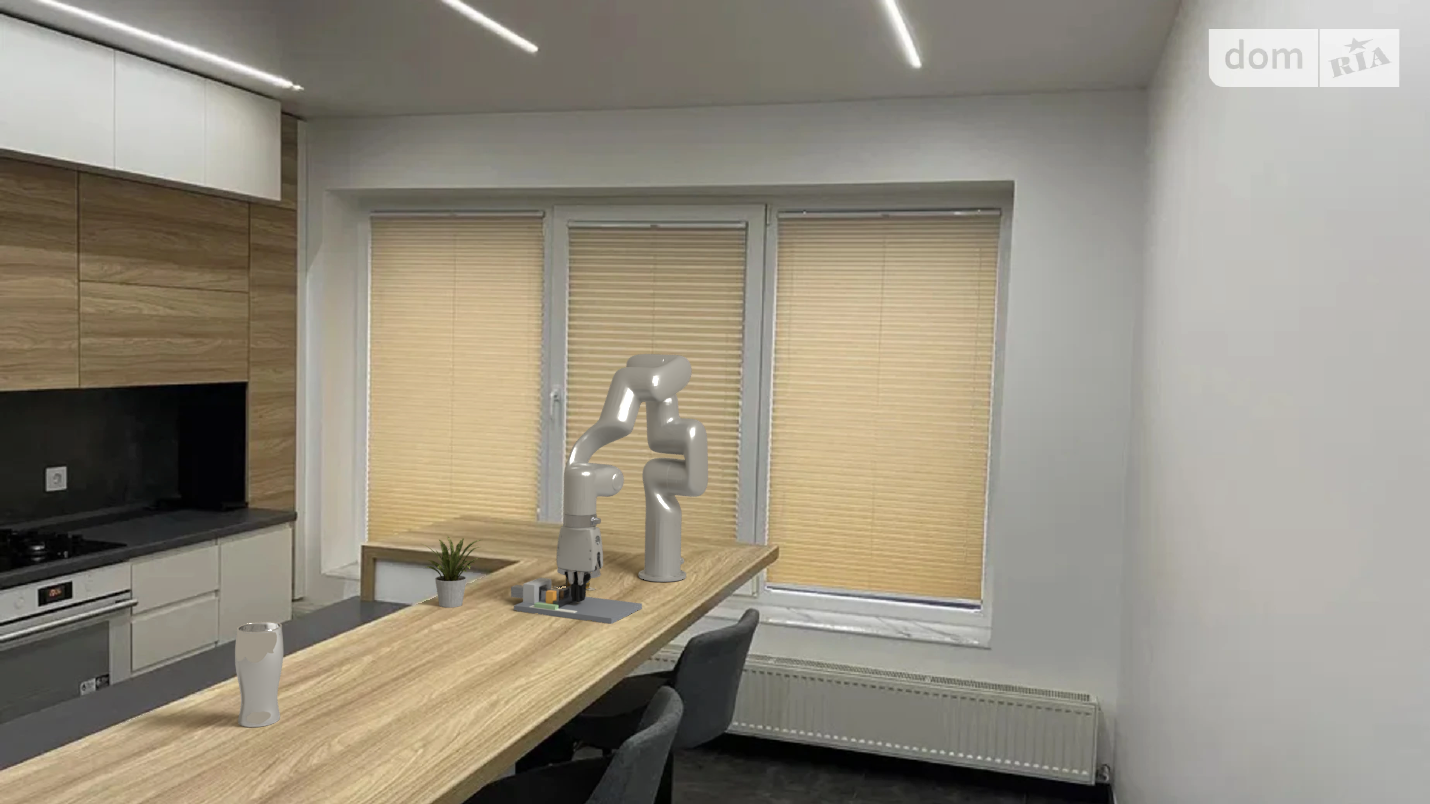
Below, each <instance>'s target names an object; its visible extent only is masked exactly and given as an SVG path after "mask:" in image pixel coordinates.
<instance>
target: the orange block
mask: <svg viewBox="0 0 1430 804" xmlns="http://www.w3.org/2000/svg"><path fill="white" fill-rule="evenodd" d="M556 593H557V591H554V590H548V591H546V603H548V604H553V601H554V600H556Z"/></svg>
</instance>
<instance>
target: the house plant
mask: <svg viewBox="0 0 1430 804" xmlns="http://www.w3.org/2000/svg"><path fill="white" fill-rule="evenodd" d="M446 539H447V540H448V544H449V547H450V548H448V546H447V545H446V544H445V543H444V541H443V540H442V539H438V542H439V544H440V545H439V546H440V548H441V554H442V556H441V555H440V553H439V552H438V551H437V550H433V549H432V548H430V547H429V546H427V545H425V544H422V543H421V545H422V546H425V547H426V548H428V549H430V550H431V552H432V553H434V555H435V556H436V557H437V559H438V560H439V561H440V564H439V563H438V562H436V561H434V560H432V559H428V561H429V562H431V564H432V565H433V566H431V565H427V566H426V568H429V569H430V570H433V571H436V572H437V573H438V575H439V576H437V577H435V579H434V580H435V586H436V592H437V593H436V594H437V599H438V605H439V607H441V608H457V607H461V606H463V603H464V596H465V591H466V584H467V576H465V575H462V574H463V572H465V573H468V572H467V568H468V569H469V570H470V569H471V565H470V564H472V563H473V564H474V565H475V564H476V563H475V562H474V561H476V560H480V559H481V557H479V558H474V559H472V560H466V559H467V557H468V556H469V555H470V554H471V553H472V552H473V551H474V550H476V549H479V548H481V546H475V547H474V548H473V546H474V544H475V543H477V542H480V541H482V539H477V540H474V541H472V542H470V543H469V544H468V545H467V546H466V547H465V548H464V549H463V551H462V548H463V547H464V546H463V545H464V540H465V538H464V537H462V538H461V539H460V540H459V542H458V543H457V544H456V547H454V543H453V541H452V539H451V537H449V535H446ZM471 547H472V549H471V550H469V548H471ZM449 550H450V553H449ZM467 550H469V551H468V553H467ZM461 552H462V553H461ZM466 553H467V554H466ZM465 554H466V556H465V557H464V559H463V560H462V558H463V556H464V555H465ZM461 560H462V562H460V561H461ZM459 563H460V564H459ZM466 563H467V564H466ZM465 564H466V565H465ZM434 566H435V567H436V568H435V567H434ZM441 573H442V574H441Z"/></svg>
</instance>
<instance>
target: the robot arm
mask: <svg viewBox="0 0 1430 804" xmlns="http://www.w3.org/2000/svg"><path fill="white" fill-rule="evenodd" d="M625 366H626V367H621V368H619V369H618V370H617V371H615V373H614V374H613V376H612V379H611V382H610V386H609V388H608V391H607V393H606V397H605V400H604V403H603V407H602V408H601V409H602V410H601V412H600V416H599V419H597V422H595V423H594V424H593V425H591V426H590V427H589V428H588V429H587V430H586V431H584V432H583V433H582V434H581V435H580V437H578V439H577V440H576V441H575V443H573V445H572V448H571V450H570V452H569V455H568V458H567V461H566V463H565V467H564V470H563V471H564V472H563V499H562V500H563V502H562V506H563V507H562V508H563V509H562V510H563V511H562V526H560V528H559V532H558V539H557V545H556V546H557V548H556V566H557V570H556V573H558V574H560V575H563V576H565V578H566V577H567V579H568V580H569V583H570V584H571V597H572V602H575V601H576V602H581V601H583V600H584V599H585V597H587V591H586V583H588V581H589V580H590V581H591V579H595V578H598V577H601V575H602V574H601V569H602V568H603V567H604V551H603V549H604V548H603V540H602V533H601V530H600V527H598V526H597V525H600V524H601V523H602V519H601V517H598V514H597V499H598V497H599V498H600V497H606V498H607V497H613V496H615V495H618V494H619V493H620V491H622V489H623V486H624V484H625V477H624V474H623V471H622V470H621V469H620V468H619V467H617V466H615V465H613V464H607V463H606V464H605V463H596V462H595V463H594V462H589V461H590V459H591V458H592V456H593V455H594V454H595V453H596V452H597V451H598V450H600V449H601V448H603V447H605V446H607V445H609V444H611V443H614V442H616V441H618V440H621V439H623V438H625V437H628V436H629V435H630V434H632V432H633V430H634V427H635V423H636V419H637V417H638V414H639V412H640V411H639V410H640V408H641V405H642V403H645V412H646V413H645V415H646V417H645V418H646V439H647V446H648V448H649V449H650V450H651V451H652V452H655V453H657V454H658V453H659V454H666V455H681V456H683V457H684V459H682V458H680V459H679V458H673V457H672V458H670V457H657V458H656V457H655V458H652V459H649V461H647V462H646V463H645V465H643V469H642V475H641V476H642V483H643V491H644V497H645V521H644V522H645V525H644V569H642V570H640V571H639V572H638V578H639V579H641V580H643V579H644V581H650V582H655V583H657V582H658V583H663V582H664V583H665V582H666V583H667V582H679V581H682V579H683V580H684V579H686V578H687V572H686V571H685V570H681V566H682V565H683V564H684V563H685V559H684V557H683V556H682V519H683V518H682V516H683V514H682V508H681V505H680V503H679V501H678V499H677V497H676V496H678V497H679V496H680V497H691V498H692V497H693V498H694V497H695V498H697V497H699V496H702V495H703V494H704V493H705V492H706V490H707V488H708V482H709V454H708V451H709V450H708V449H709V448H708V447H709V446H708V433H707V430H706V427H705V426H704V424H703V422H701V421H700V420H698V419H695V418H685V417H683V418H682V417H680V411H679V410H680V409H679V398H678V395H677V394H678V393H679V392H680V391H682V390H683V389H685V388H686V386H687V385H688V384H689V382H690V380H691V377H692V364H691V362H690V361H689V359H688V358H687V357H685V356H683V355H680V354H659V353H658V354H656V353H643V354H641V353H640V354H635V355H632V356H630V357H629V358H628V359H627V361H626V365H625Z"/></svg>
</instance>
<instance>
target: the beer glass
mask: <svg viewBox="0 0 1430 804" xmlns="http://www.w3.org/2000/svg"><path fill="white" fill-rule="evenodd" d="M283 638H284V637H283V624H282V623H280V622H277V621H269V620H267V621H254V622H248V623H244V624H240V625H239V626H237V627H236V634H235V645H234V646H235V647H234V665H235V672H236V678H237V682H238V687H239V693H240V708H239V713H238V719H237V723H238V725H239V726H242V727H244V728H259V727H260V728H261V727H266V726H267V727H268V726H270V725H273V724H275V723H277V722H279V721H280V719H281V714H280V709H279V703H278V700H279V699H278V696H279V695H278V694H279V693H278V692H279V686H280V680H281V674H282V670H283V663H284V662H283V661H284V639H283Z"/></svg>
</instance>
